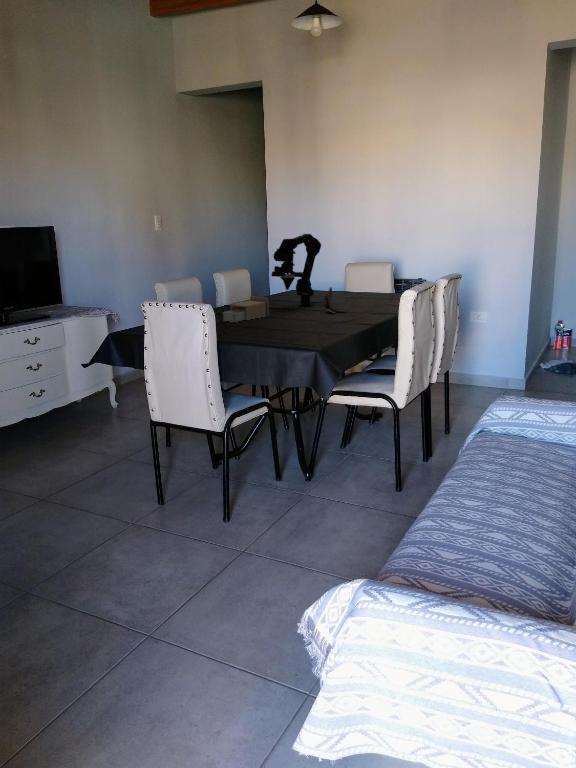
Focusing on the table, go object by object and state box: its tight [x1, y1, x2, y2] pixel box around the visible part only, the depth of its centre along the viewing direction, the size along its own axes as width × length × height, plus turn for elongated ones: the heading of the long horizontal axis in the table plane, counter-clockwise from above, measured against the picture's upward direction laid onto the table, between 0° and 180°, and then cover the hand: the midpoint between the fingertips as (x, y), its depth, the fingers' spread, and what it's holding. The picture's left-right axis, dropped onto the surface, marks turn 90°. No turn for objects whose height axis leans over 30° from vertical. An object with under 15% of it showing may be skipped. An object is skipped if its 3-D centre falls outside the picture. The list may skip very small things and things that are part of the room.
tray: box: [222, 295, 270, 323], centre depth 335 cm, size 24×13×10 cm, turn 137°
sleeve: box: [229, 300, 267, 321], centre depth 337 cm, size 14×13×8 cm
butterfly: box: [321, 286, 346, 314], centre depth 345 cm, size 17×10×10 cm
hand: (287, 290), depth 354 cm, fingers closed
